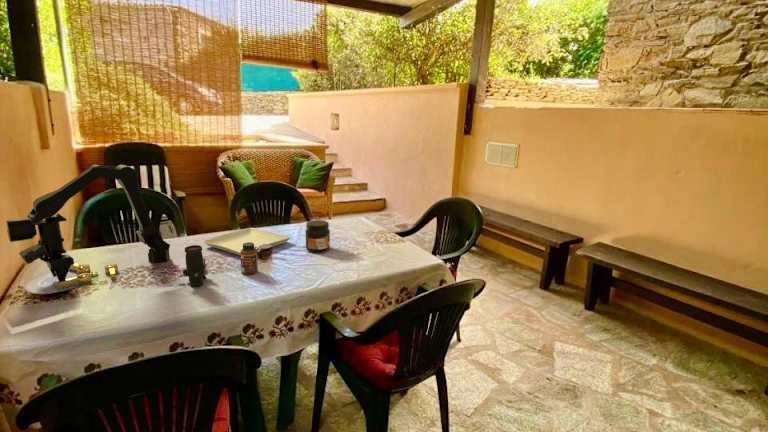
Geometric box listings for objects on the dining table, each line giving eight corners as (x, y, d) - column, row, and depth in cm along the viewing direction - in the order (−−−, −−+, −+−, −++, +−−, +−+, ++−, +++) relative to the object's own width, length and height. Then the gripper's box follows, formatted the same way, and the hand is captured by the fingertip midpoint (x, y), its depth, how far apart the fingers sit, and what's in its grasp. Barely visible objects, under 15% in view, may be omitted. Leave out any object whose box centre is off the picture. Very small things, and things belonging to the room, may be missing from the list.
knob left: (89, 278, 149) (87, 271, 148) (93, 281, 146) (92, 274, 146) (54, 287, 141) (53, 280, 140) (58, 291, 139) (57, 283, 138)
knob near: (105, 271, 155) (103, 264, 154) (117, 269, 157) (116, 262, 156) (107, 281, 147) (105, 274, 146) (120, 278, 149) (119, 271, 149)
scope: (204, 240, 152) (207, 249, 143) (208, 277, 156) (211, 287, 147) (179, 243, 148) (180, 252, 140) (183, 280, 152) (184, 291, 143)
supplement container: (323, 254, 181) (323, 227, 177) (301, 251, 184) (300, 224, 181) (334, 247, 190) (333, 221, 187) (312, 244, 193) (312, 218, 190)
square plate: (292, 244, 194) (292, 236, 193) (243, 261, 172) (243, 252, 171) (251, 233, 208) (251, 225, 207) (201, 248, 186) (201, 240, 185)
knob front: (93, 271, 154) (92, 264, 154) (81, 275, 151) (80, 268, 150) (75, 266, 158) (74, 260, 158) (64, 270, 155) (63, 263, 154)
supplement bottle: (243, 276, 157) (241, 247, 154) (240, 270, 162) (238, 242, 159) (259, 273, 160) (258, 245, 157) (256, 268, 165) (254, 240, 162)
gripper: (12, 234, 140) (21, 278, 144) (26, 248, 128) (36, 296, 132) (53, 227, 148) (61, 269, 152) (70, 240, 136) (78, 285, 141)
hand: (58, 279), depth 144 cm, fingers open, 7 cm apart
